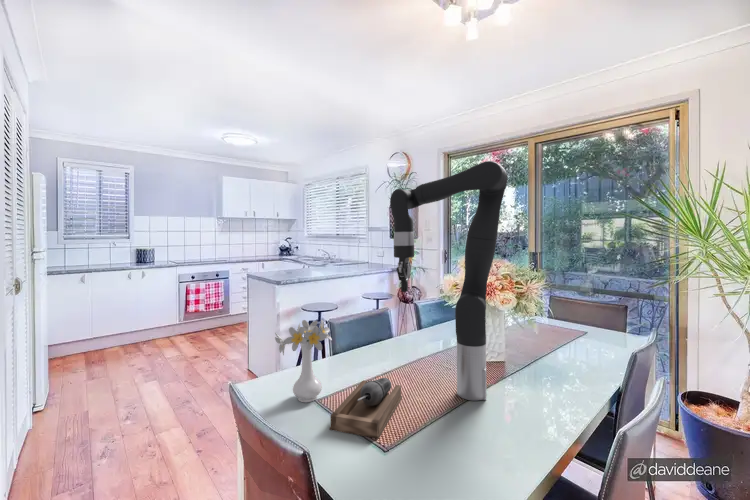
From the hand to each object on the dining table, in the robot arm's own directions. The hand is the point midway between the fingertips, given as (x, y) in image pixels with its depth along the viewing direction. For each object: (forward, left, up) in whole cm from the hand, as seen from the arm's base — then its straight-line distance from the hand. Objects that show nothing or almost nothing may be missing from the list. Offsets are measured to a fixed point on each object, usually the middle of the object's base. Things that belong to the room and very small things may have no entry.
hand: (404, 291), depth 127 cm
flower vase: (+26, +27, -32) cm, 49 cm away
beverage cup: (+4, +14, -30) cm, 33 cm away
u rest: (+4, +29, -32) cm, 43 cm away
